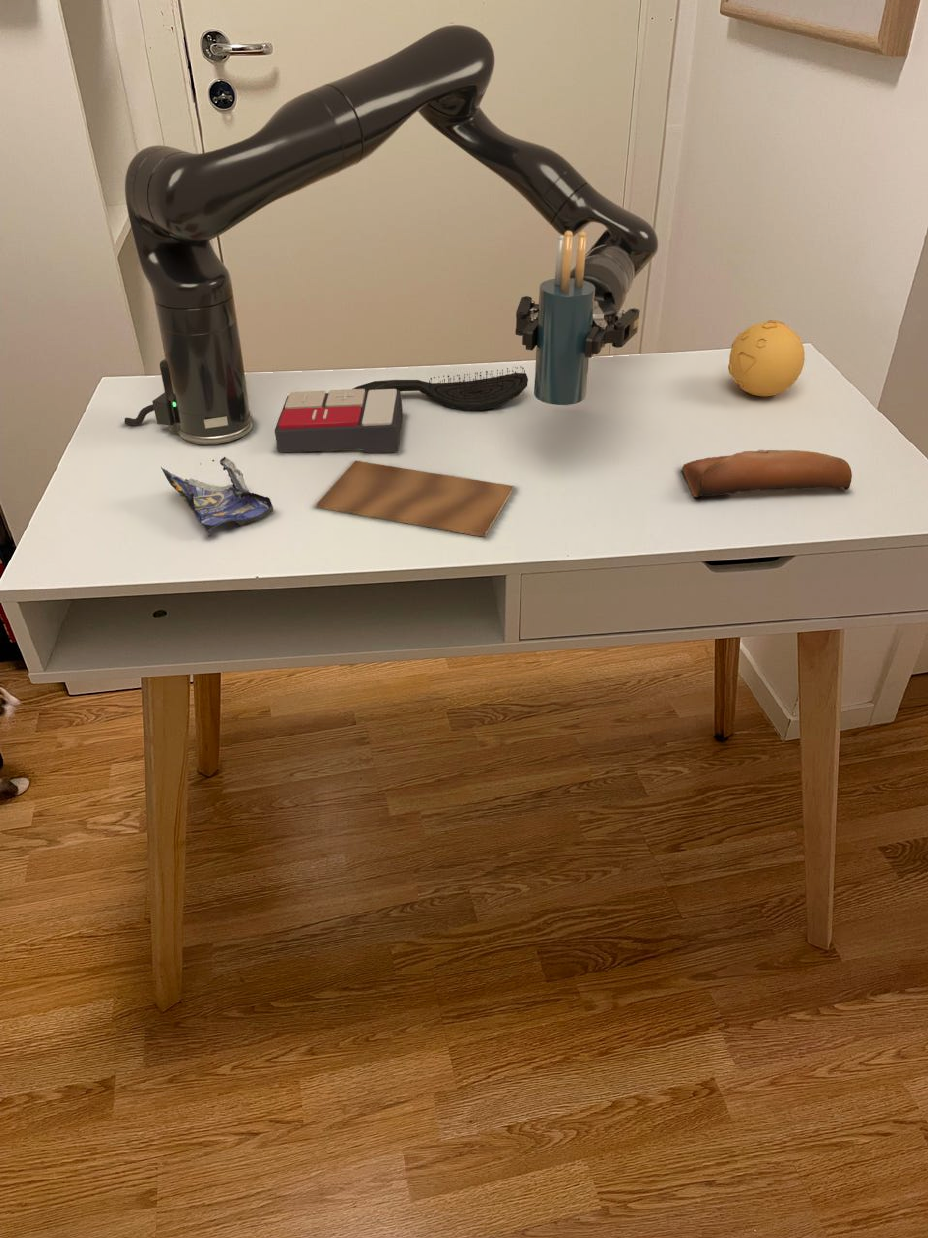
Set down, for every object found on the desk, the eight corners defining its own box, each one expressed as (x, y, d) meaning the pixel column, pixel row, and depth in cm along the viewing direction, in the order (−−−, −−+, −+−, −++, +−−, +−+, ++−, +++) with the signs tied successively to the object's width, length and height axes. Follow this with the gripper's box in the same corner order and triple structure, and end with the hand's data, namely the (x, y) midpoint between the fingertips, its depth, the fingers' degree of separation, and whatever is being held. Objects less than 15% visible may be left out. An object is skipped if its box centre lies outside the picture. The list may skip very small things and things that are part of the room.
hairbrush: (346, 367, 134) (526, 358, 134) (349, 392, 136) (526, 383, 136) (341, 392, 128) (529, 382, 127) (344, 417, 130) (530, 408, 129)
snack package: (268, 479, 115) (167, 487, 112) (264, 434, 110) (158, 441, 108) (277, 546, 107) (168, 556, 104) (273, 501, 102) (159, 510, 100)
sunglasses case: (820, 457, 118) (843, 426, 112) (834, 507, 115) (858, 478, 109) (677, 464, 116) (691, 433, 110) (687, 516, 114) (703, 487, 107)
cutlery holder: (528, 401, 106) (536, 232, 96) (541, 380, 111) (550, 217, 100) (579, 408, 105) (593, 237, 94) (590, 387, 109) (605, 222, 99)
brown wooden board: (316, 507, 109) (316, 503, 109) (355, 463, 117) (355, 460, 117) (485, 537, 104) (485, 533, 104) (513, 489, 112) (513, 485, 112)
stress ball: (790, 380, 138) (805, 311, 132) (801, 410, 130) (818, 337, 124) (719, 377, 139) (731, 308, 133) (726, 406, 131) (739, 334, 125)
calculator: (286, 388, 126) (400, 383, 126) (291, 419, 129) (403, 414, 128) (272, 425, 118) (394, 420, 117) (278, 457, 120) (398, 452, 120)
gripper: (648, 332, 115) (621, 387, 103) (532, 318, 119) (492, 370, 106) (656, 269, 111) (629, 318, 98) (535, 256, 114) (494, 302, 102)
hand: (558, 344), depth 102 cm, fingers closed on cutlery holder, 6 cm apart
